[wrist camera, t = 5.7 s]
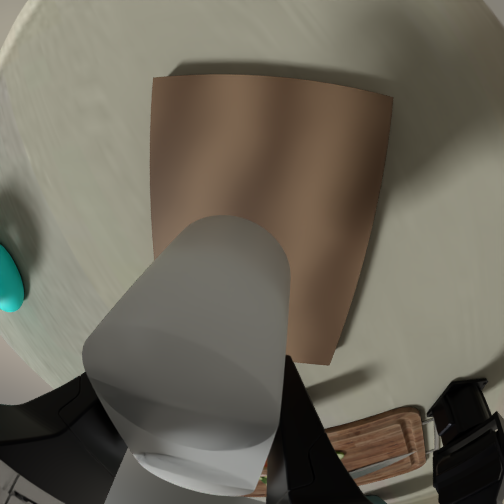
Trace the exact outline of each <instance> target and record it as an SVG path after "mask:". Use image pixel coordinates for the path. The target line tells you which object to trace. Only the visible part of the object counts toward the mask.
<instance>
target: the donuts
mask: <svg viewBox="0 0 504 504" xmlns="http://www.w3.org/2000/svg"><path fill="white" fill-rule="evenodd" d="M23 300H24V288H23V283H22V279H21V276H20V273H19V271H18V269H17V267H16V265H15V263H14V261H13V259H12V257H11V256H10V254H9V253H8V252H7V250H6V249H5V248H4V247H3V246H2V245H1V244H0V309H1V310H3V311H6V312H14V311H16V310H18V309H19V308H20V307H21V305H22V303H23Z"/></svg>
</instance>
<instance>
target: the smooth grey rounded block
mask: <svg viewBox="0 0 504 504" xmlns="http://www.w3.org/2000/svg"><path fill="white" fill-rule="evenodd" d="M290 280H291V274H290V266H289V262H288V259H287V256H286V254H285V252H284V250H283V248H282V247H281V245H280V244H279V243H278V241H277V240H276V239H275V238H274V237H273V236H272V235H271V234H270V233H269V232H268V231H266V230H265V229H264V228H262V227H261V226H259V225H258V224H256V223H254V222H252V221H249V220H247V219H244V218H240V217H236V216H230V215H215V216H209V217H205V218H202V219H199V220H197V221H195V222H193V223H191V224H190V225H189V226H187V227H186V228H185V229H184V230H183V231H182V232H181V233H180V234H179V235H178V236H177V237H176V238H175V239H174V240H173V241H172V242H171V243H170V244H169V245H168V246H167V248H166V249H165V250H164V251H163V252H162V253H161V254H160V255H159V256H158V257H157V258H156V259H155V260H154V262H153V263H152V264H151V265H150V266H149V267H148V268H147V269H146V270H145V271H144V273H143V274H142V275H141V276H140V277H139V278H138V279H137V280H136V282H135V283H134V284H133V285H132V286H131V287H130V288H129V290H128V291H127V292H126V293H125V294H124V295H123V296H122V298H121V299H120V300H119V301H118V302H117V303H116V305H115V306H114V307H113V308H112V309H111V311H110V312H109V313H108V314H107V315H106V316H105V318H104V319H103V320H102V321H101V323H100V324H99V325H98V326H97V327H96V329H95V330H94V331H93V332H92V334H91V335H90V336H89V337H88V339H87V340H86V341H85V344H84V346H83V351H82V359H83V365H84V368H85V371H86V373H87V376H88V378H89V380H90V382H91V384H92V386H93V388H94V390H95V392H96V394H97V396H98V398H99V400H100V401H101V403H102V405H103V407H104V409H105V410H106V412H107V414H108V416H109V417H110V419H111V421H112V423H113V424H114V426H115V428H116V429H117V431H118V432H119V434H120V436H121V437H122V439H123V440H124V442H125V443H126V445H127V446H128V448H129V449H130V451H131V452H132V454H133V455H134V457H135V458H136V459H137V461H138V462H139V463H140V464H141V465H142V466H143V467H144V468H145V469H147V470H148V471H149V472H151V473H153V474H154V475H156V476H158V477H160V478H162V479H164V480H166V481H168V482H170V483H173V484H175V485H178V486H181V487H184V488H187V489H190V490H194V491H198V492H203V493H207V494H213V495H222V496H242V495H247V494H250V493H252V492H254V490H255V488H256V486H257V483H258V481H259V478H260V475H261V473H262V470H263V467H264V465H265V462H266V459H267V457H268V454H269V451H270V448H271V445H272V443H273V440H274V437H275V434H276V431H277V428H278V425H279V419H280V410H281V400H282V390H283V379H284V367H285V355H286V343H287V329H288V314H289V298H290Z"/></svg>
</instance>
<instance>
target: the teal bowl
mask: <svg viewBox="0 0 504 504" xmlns="http://www.w3.org/2000/svg"><path fill="white" fill-rule="evenodd" d="M366 497H367V498H368V499H369V500H370V501H371V502H372V503H373V504H387V503H386V502H385V501H383V500H382V499H381V498H379V497H378V496H374V495H370V496H366Z"/></svg>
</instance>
